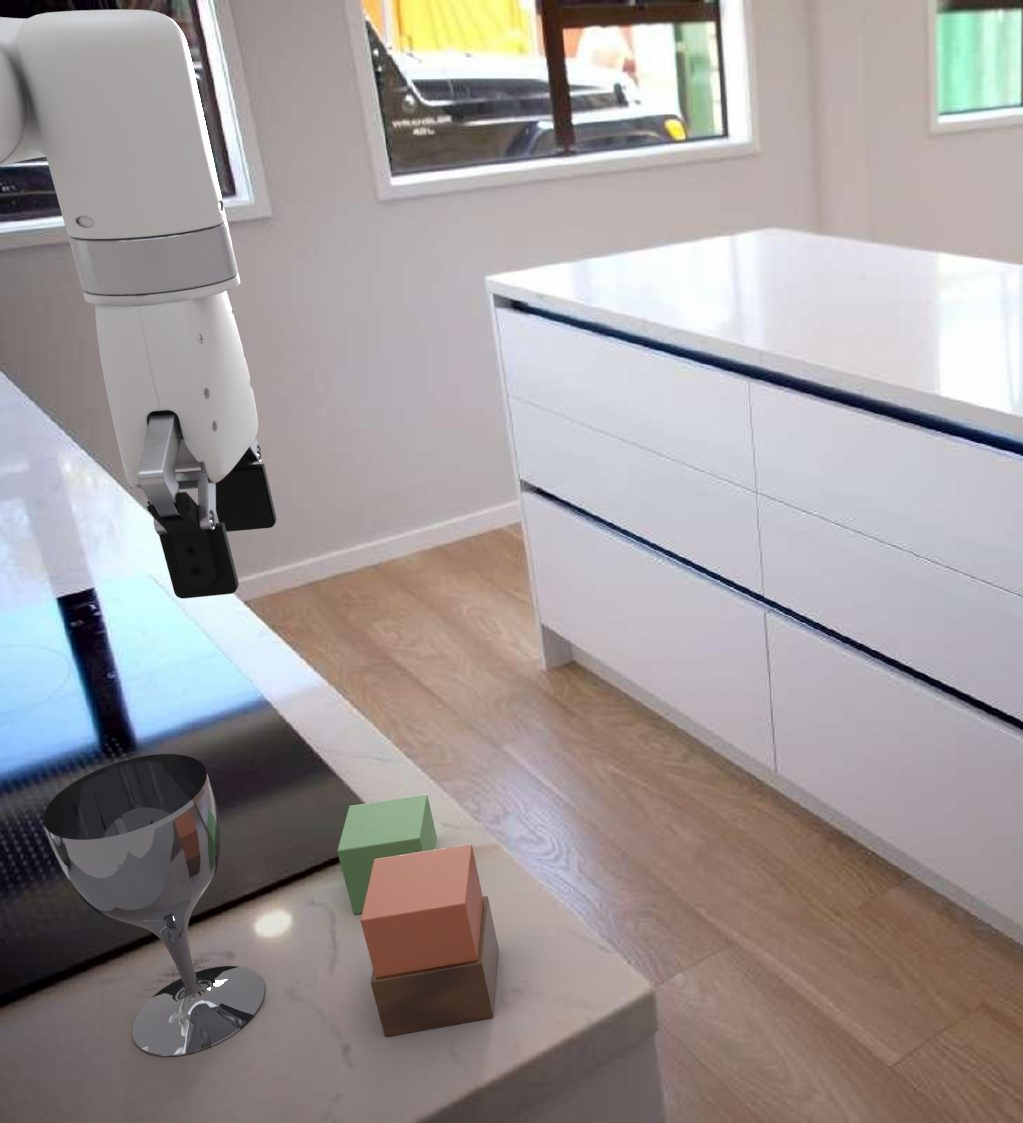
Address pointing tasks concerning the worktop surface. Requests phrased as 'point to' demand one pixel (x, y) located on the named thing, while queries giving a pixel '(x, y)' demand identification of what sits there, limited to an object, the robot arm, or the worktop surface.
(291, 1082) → the worktop surface
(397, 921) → the terracotta block
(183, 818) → the wine glass
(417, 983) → the walnut block
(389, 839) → the green block
